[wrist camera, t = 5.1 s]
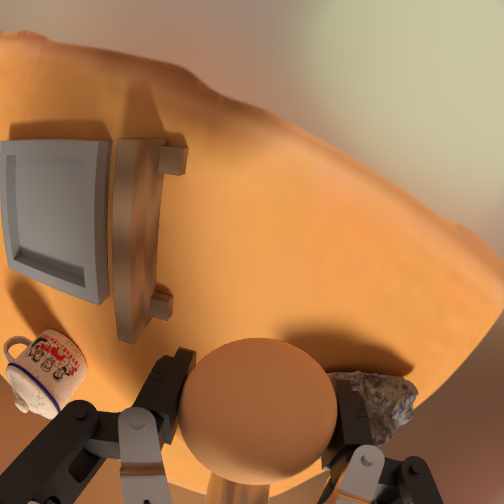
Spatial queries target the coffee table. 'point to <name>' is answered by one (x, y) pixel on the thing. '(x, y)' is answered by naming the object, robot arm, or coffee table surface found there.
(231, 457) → the ball
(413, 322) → the coffee table surface
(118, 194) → the fence
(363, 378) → the mineral rock
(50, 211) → the tray
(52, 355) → the teacup with lid
